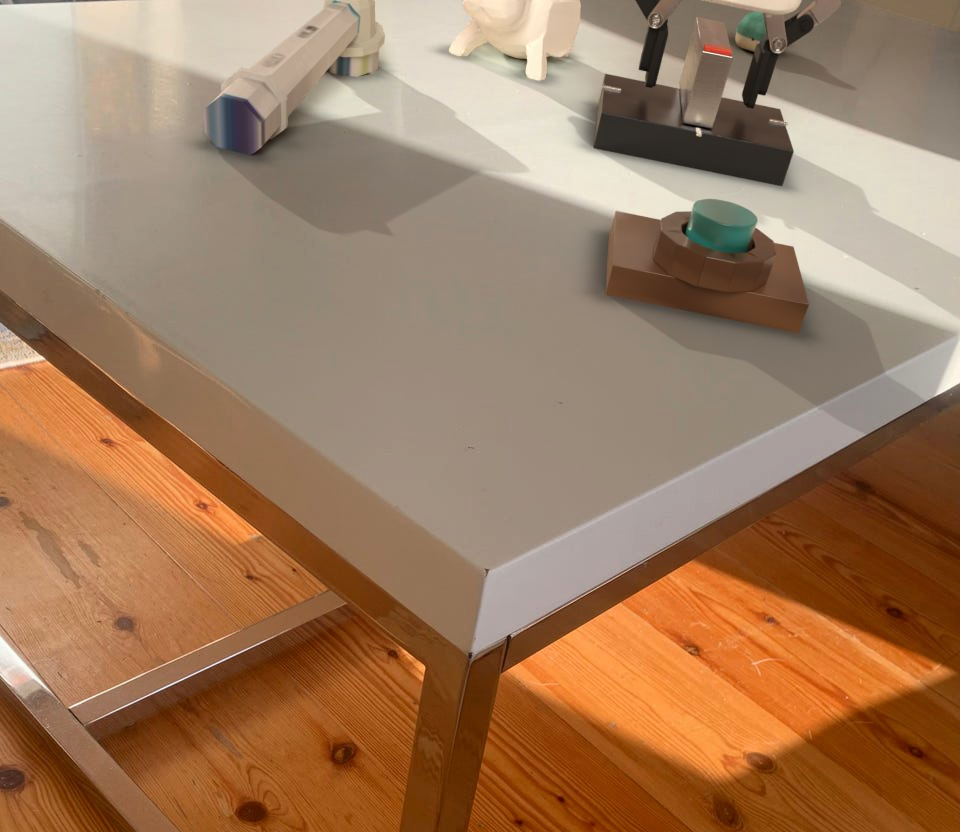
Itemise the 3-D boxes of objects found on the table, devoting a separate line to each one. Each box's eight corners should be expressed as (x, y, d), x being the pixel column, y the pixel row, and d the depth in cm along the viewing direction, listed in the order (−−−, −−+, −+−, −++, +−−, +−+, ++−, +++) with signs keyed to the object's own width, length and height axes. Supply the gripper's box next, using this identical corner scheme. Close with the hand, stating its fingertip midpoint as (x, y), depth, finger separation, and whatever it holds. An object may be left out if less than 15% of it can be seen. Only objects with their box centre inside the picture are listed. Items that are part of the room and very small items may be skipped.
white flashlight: (190, 84, 68) (331, -47, 85) (196, 185, 72) (329, 42, 90) (272, 104, 67) (397, -31, 84) (273, 205, 72) (391, 57, 89)
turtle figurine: (720, 45, 113) (732, 5, 111) (745, 35, 118) (756, -4, 116) (774, 62, 111) (787, 22, 109) (797, 51, 116) (809, 12, 114)
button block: (782, 279, 69) (803, 218, 67) (797, 345, 62) (822, 279, 60) (607, 244, 69) (622, 181, 67) (603, 306, 62) (620, 238, 60)
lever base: (766, 134, 92) (778, 95, 90) (783, 197, 81) (798, 154, 79) (596, 100, 92) (605, 60, 90) (590, 158, 81) (600, 114, 79)
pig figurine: (483, 75, 102) (418, 37, 89) (513, -23, 100) (450, -78, 86) (568, 102, 100) (514, 67, 86) (600, 2, 98) (551, -50, 84)
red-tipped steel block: (678, 84, 88) (697, 13, 85) (706, 89, 88) (725, 19, 85) (682, 123, 81) (703, 46, 77) (712, 129, 81) (734, 53, 77)
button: (745, 235, 64) (755, 206, 63) (750, 261, 61) (760, 231, 60) (683, 223, 64) (692, 193, 63) (685, 248, 61) (694, 217, 60)
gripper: (644, -210, 70) (582, 83, 81) (916, -154, 70) (818, 131, 81) (644, -219, 76) (586, 56, 87) (895, -167, 76) (806, 101, 87)
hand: (699, 90), depth 84 cm, fingers open, 6 cm apart
